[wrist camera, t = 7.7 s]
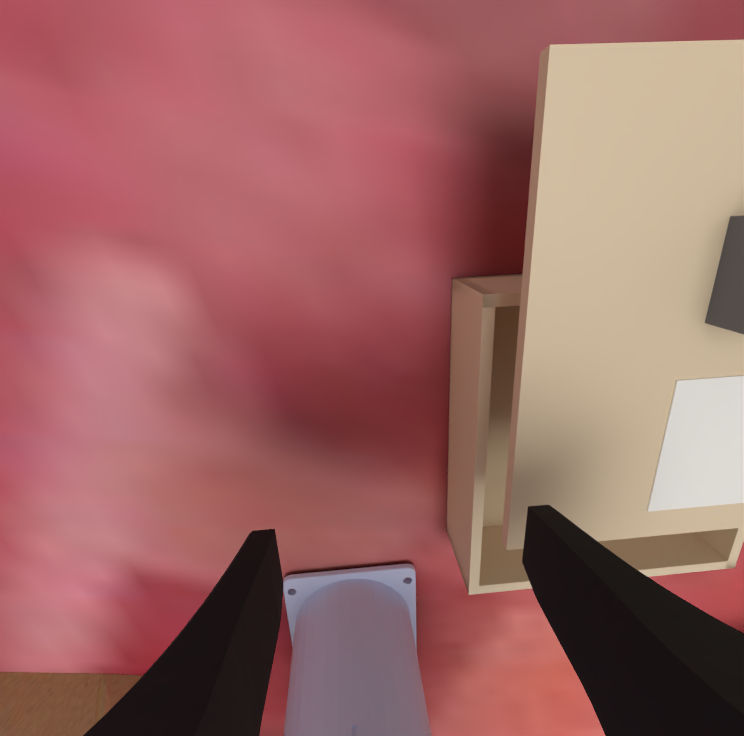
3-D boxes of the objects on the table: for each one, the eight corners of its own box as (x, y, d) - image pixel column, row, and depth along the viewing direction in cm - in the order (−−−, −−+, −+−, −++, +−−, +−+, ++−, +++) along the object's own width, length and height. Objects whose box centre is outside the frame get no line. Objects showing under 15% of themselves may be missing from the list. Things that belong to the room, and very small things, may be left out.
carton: (669, 510, 26) (734, 567, 21) (446, 530, 25) (468, 594, 21) (731, 261, 20) (833, 273, 16) (451, 277, 20) (483, 294, 15)
